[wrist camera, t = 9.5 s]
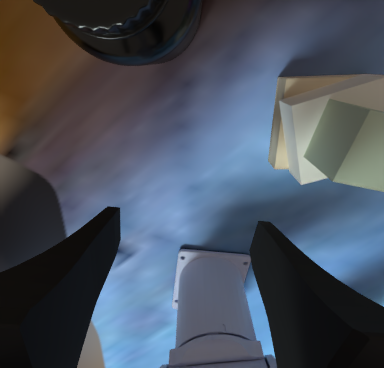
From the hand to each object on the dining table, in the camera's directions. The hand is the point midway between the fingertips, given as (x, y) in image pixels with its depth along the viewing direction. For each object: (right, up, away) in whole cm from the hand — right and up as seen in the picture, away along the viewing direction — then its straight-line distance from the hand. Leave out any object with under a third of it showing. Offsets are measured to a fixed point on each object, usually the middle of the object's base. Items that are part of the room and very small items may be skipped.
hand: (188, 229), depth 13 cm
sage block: (+11, +6, +4) cm, 13 cm away
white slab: (+10, +7, +6) cm, 14 cm away
